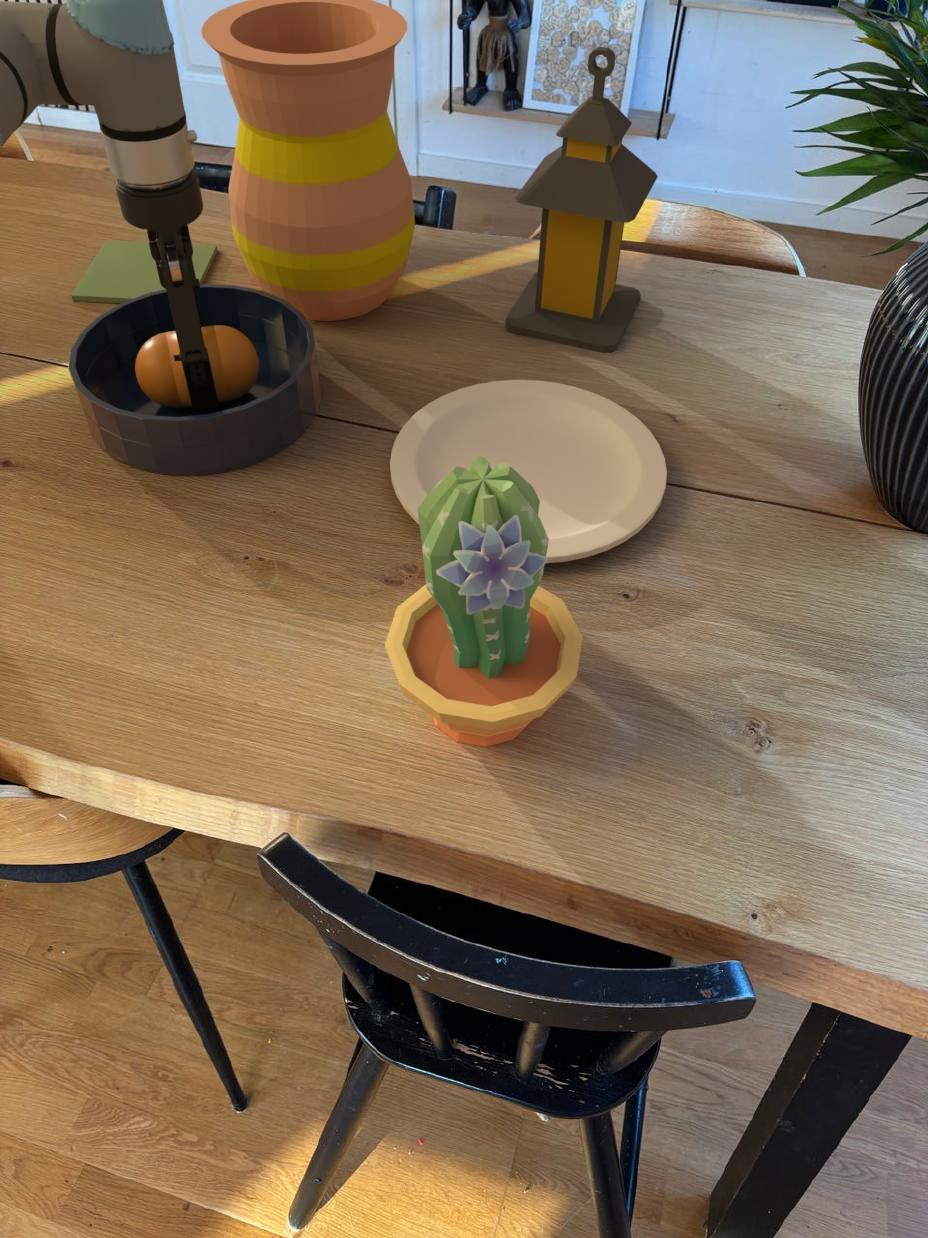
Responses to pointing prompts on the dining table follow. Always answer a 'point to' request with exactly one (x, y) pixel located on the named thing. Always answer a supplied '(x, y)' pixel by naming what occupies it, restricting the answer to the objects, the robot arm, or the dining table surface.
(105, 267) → the mat
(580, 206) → the lantern
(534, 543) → the potted cactus
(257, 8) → the vase
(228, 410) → the bowl
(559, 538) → the plate
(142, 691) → the dining table surface
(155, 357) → the orange capsule
